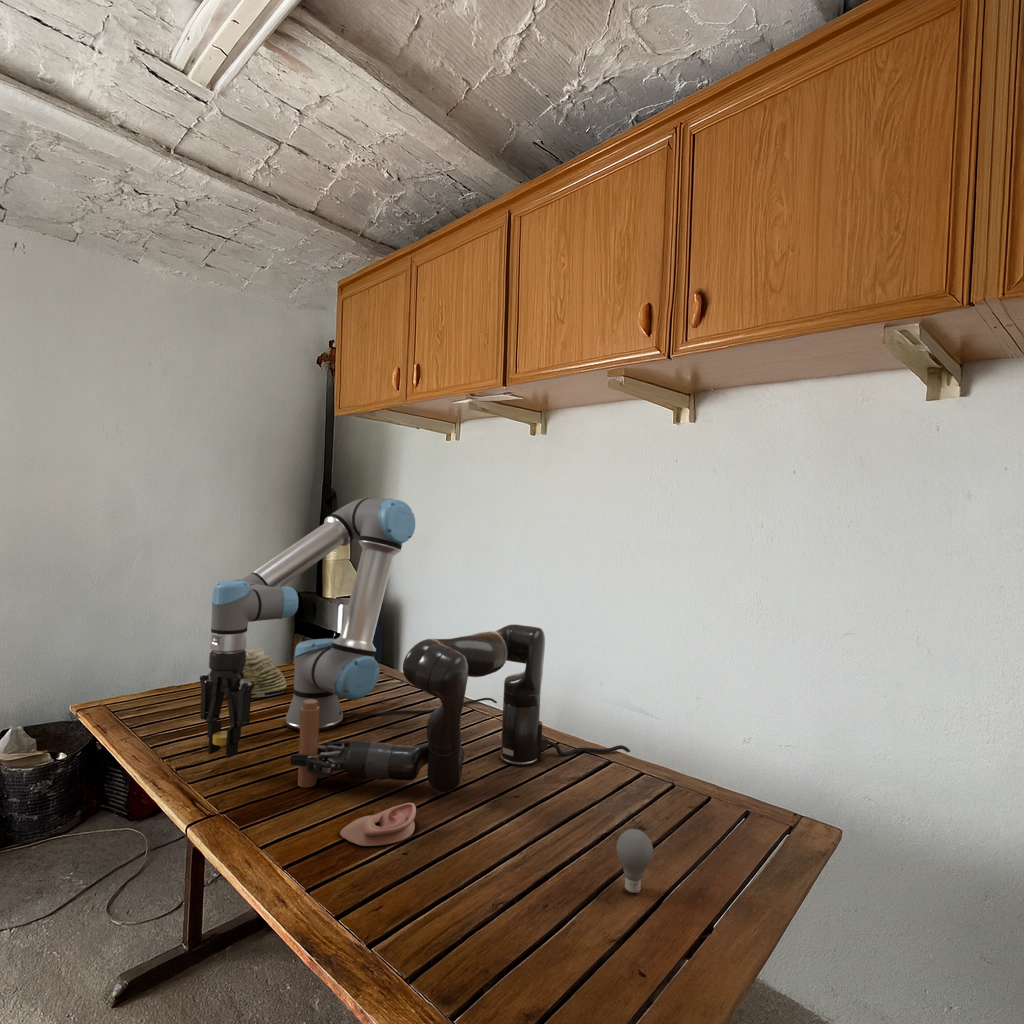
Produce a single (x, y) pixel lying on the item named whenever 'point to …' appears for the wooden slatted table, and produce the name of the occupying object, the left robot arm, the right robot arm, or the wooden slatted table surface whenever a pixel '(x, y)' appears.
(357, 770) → the right robot arm
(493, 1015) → the wooden slatted table surface
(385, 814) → the anatomical model
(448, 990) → the wooden slatted table surface
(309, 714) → the brown long cylinder
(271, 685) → the fossil
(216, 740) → the lid
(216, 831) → the wooden slatted table surface
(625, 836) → the light bulb
